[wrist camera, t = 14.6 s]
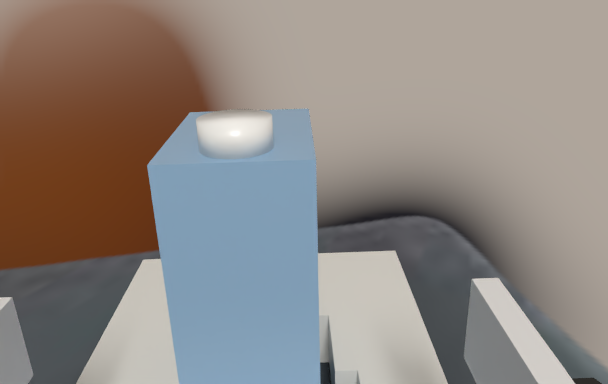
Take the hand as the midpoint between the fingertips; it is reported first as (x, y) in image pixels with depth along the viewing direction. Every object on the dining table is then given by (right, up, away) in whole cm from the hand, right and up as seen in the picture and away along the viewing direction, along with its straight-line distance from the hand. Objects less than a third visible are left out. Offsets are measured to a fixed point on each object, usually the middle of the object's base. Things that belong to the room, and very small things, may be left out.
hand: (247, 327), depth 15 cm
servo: (0, -7, +9) cm, 11 cm away
